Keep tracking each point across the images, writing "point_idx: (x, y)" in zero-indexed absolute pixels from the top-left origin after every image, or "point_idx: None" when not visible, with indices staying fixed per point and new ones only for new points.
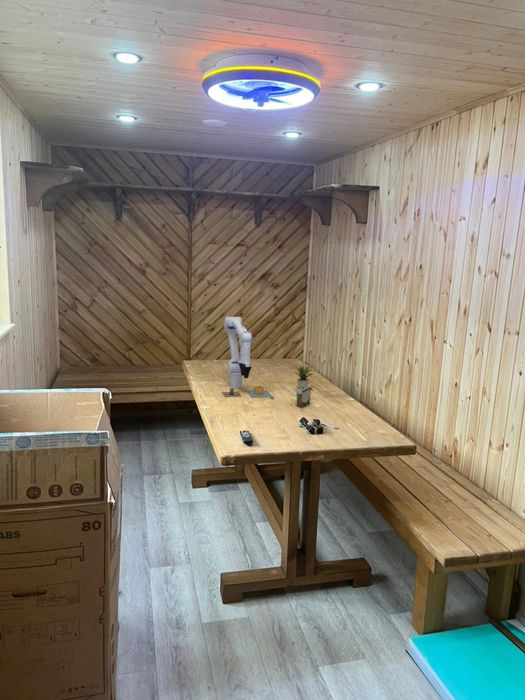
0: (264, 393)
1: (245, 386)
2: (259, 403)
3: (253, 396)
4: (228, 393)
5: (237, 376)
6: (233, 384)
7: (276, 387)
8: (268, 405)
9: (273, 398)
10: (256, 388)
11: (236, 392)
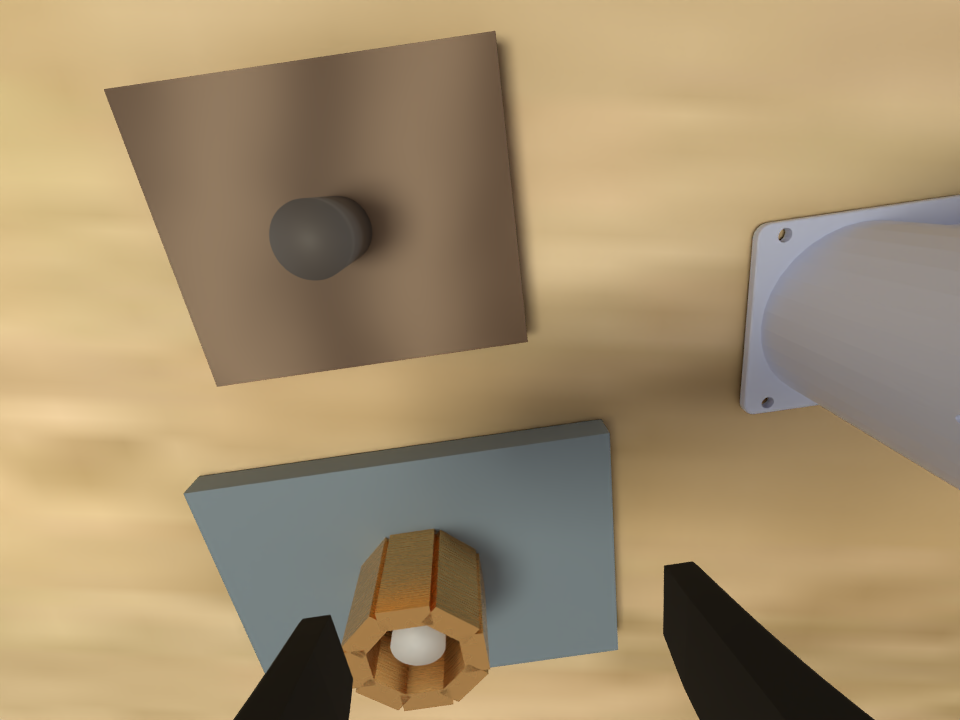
0: None
1: None
2: (65, 550)
3: (271, 518)
4: (400, 173)
5: (954, 419)
6: (836, 285)
7: None
8: (12, 623)
9: None
10: (357, 622)
11: (478, 311)
